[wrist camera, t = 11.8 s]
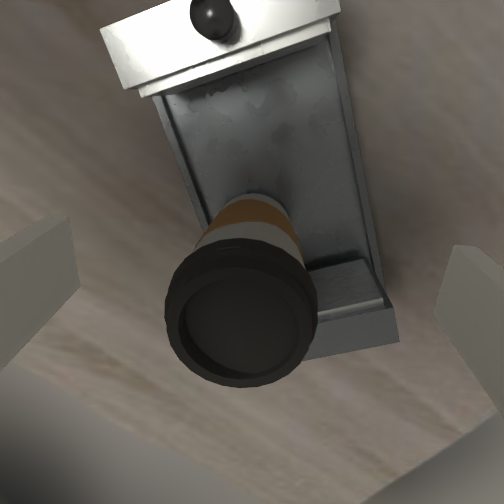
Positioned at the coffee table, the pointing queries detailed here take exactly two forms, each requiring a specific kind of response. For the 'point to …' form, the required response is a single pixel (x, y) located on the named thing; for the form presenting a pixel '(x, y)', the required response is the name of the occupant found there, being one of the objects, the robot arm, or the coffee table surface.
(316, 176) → the base
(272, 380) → the coffee cup
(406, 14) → the coffee table surface
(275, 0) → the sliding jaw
